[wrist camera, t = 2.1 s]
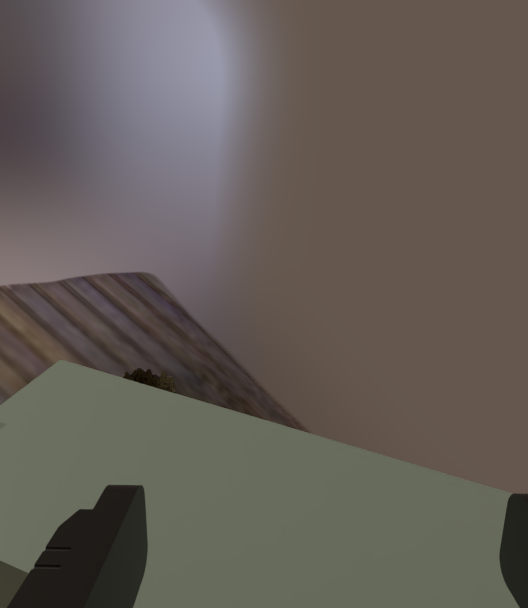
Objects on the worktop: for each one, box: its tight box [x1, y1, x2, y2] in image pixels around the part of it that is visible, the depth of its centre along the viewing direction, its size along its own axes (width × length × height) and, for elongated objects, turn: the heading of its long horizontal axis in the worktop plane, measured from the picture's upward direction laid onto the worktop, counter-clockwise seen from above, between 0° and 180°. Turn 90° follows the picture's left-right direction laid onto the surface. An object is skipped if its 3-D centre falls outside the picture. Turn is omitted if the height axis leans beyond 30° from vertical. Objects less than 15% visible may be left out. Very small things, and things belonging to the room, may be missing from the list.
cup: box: [123, 368, 176, 393], centre depth 51 cm, size 8×7×8 cm
